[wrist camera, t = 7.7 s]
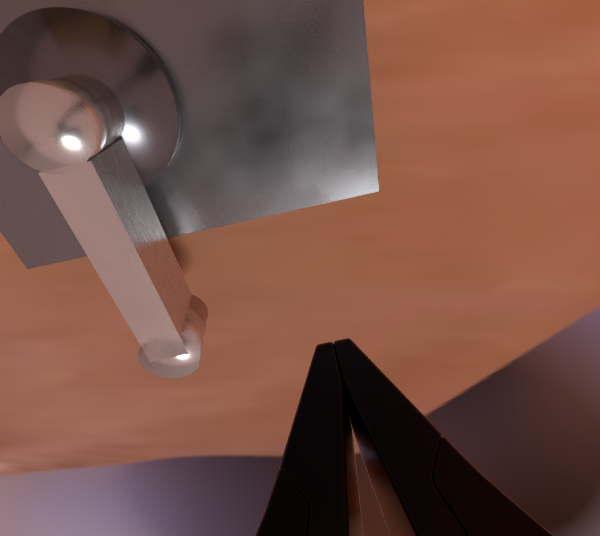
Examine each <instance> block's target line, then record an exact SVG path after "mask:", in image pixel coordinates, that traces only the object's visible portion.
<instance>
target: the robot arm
mask: <svg viewBox="0 0 600 536" xmlns="http://www.w3.org/2000/svg"><path fill="white" fill-rule="evenodd" d="M350 421H351V422H350ZM351 425H352V427H351ZM352 429H353V432H354V435H355V438H356V441H357V444H358V447H359V449H360V452H361V455H362V458H363V460H364V463H365V466H366V469H367V472H368V475H369V477H370V480H371V483H372V486H373V489H374V491H375V494H376V497H377V500H378V503H379V505H380V508H381V511H382V514H383V517H384V519H385V522H386V525H387V528H388V531H389V533H390V536H553V535H552V534H551V533H549V532H548V531H547V530H546V529H545V528H544V527H542V526H541V525H540V524H539V523H538V522H537V521H535V520H534V519H533V518H532V517H531V516H529V515H528V514H527V513H526V512H525V511H524V510H522V509H521V508H520V507H519V506H518V505H516V504H515V503H514V502H513V501H512V500H510V499H509V498H508V497H507V496H506V495H505V494H503V493H502V492H501V491H500V490H499V489H498V488H497V487H496V486H494V485H493V484H492V483H491V482H490V481H489V480H488V479H487V478H485V477H484V476H483V475H482V474H481V473H480V472H479V471H478V470H477V469H476V468H474V466H473V465H472V464H471V463H470V462H469V461H468V460H467V459H466V458H465V457H463V455H461V453H459V452H458V451H457V449H456V448H455V447H454V446H452V444H451V443H450V442H449V441H448V440H447V439H446V438H445V437H442V434H441V433H440V432H439V431H438V430H437V429H436V428H435V427H434V426H433V425H432V424H431V423H430V422H429V421H428V420H427V419H426V417H425V416H424V415H423V414H422V413H421V412H420V411H419V410H418V409H417V408H416V407H415V406H414V405H413V404H412V403H411V402H410V401H409V400H408V399H407V398H406V397H405V395H404V394H403V393H402V392H401V391H400V390H399V389H398V388H397V387H396V386H395V385H394V384H393V383H392V382H391V381H390V380H389V379H388V378H387V377H386V376H385V375H384V374H383V373H382V372H381V370H380V369H379V368H378V367H377V366H376V365H375V364H374V363H373V362H372V361H371V360H370V359H369V358H368V357H367V356H366V355H365V354H364V353H363V352H362V351H361V350H360V349H359V348H358V346H357V345H356V344H355V343H354V342H353V341H352V340H351V339H348V338H347V339H342V340H337V341H335V342H334V344H333V343H332V342H328V343H323V344H319V345H317V346H316V349H315V352H314V355H313V359H312V362H311V365H310V368H309V372H308V375H307V378H306V382H305V385H304V388H303V391H302V395H301V398H300V401H299V405H298V408H297V411H296V414H295V418H294V421H293V424H292V428H291V431H290V434H289V437H288V441H287V444H286V447H285V451H284V454H283V457H282V460H281V464H280V470H279V471H278V473H277V477H276V480H275V483H274V486H273V489H272V492H271V495H270V498H269V501H268V504H267V507H266V510H265V513H264V516H263V518H262V521H261V523H260V526H259V528H258V531H257V533H256V536H363V528H362V519H361V509H360V500H359V490H358V480H357V471H356V461H355V451H354V442H353V434H352Z"/></svg>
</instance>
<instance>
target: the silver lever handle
mask: <svg viewBox="0 0 600 536" xmlns="http://www.w3.org/2000/svg"><path fill="white" fill-rule="evenodd" d="M181 127H182V122H181V110H180V103H179V100H178V96H177V93H176V90H175V87H174V85H173V82H172V80H171V78H170V76H169V74H168V73H167V71H166V69H165V67H164V66H163V64H162V63H161V61H160V60H159V59H158V57H157V56H156V55H155V53H154V52H153V51H152V50H151V49H150V48H149V47H148V45H146V44H145V43H144V42H143V41H142V40H141V39H140V38H139V37H138V36H137V35H135V34H134V33H133V32H131V31H130V30H129V29H127V28H126V27H124V26H123V25H121V24H119V23H117V22H116V21H114V20H112V19H110V18H107V17H105V16H103V15H100V14H97V13H94V12H90V11H86V10H80V9H74V8H67V7H48V8H41V9H37V10H34V11H31V12H28V13H25V14H24V15H22V16H20V17H18V18H16V19H15V20H14V21H13V22H11V23H10V24H9V25H8V26H7V27H6V28H5V29H4V30H3V32H2V33H1V34H0V136H1V138H2V140H3V142H4V143H5V144H6V146H7V147H8V148H9V150H10V151H11V152H12V153H13V154H14V155H15V156H16V157H17V158H18V159H20V160H21V161H22V162H24V163H25V164H27V165H28V166H30V167H32V168H34V169H36V170H39V171H40V172H39V173H38V174H39V176H40V177H41V179H42V181H43V182H44V184H45V186H46V187H47V189H48V191H49V192H50V194H51V196H52V197H53V199H54V201H55V202H56V204H57V206H58V208H59V209H60V211H61V213H62V214H63V216H64V218H65V219H66V221H67V223H68V224H69V226H70V228H71V229H72V231H73V233H74V234H75V236H76V238H77V239H78V241H79V243H80V244H81V246H82V248H83V250H84V251H85V253H86V255H87V256H88V258H89V260H90V261H91V263H92V265H93V266H94V268H95V270H96V271H97V273H98V275H99V276H100V278H101V280H102V281H103V283H104V285H105V286H106V288H107V290H108V291H109V293H110V295H111V297H112V298H113V300H114V302H115V303H116V305H117V307H118V308H119V310H120V312H121V313H122V315H123V317H124V318H125V320H126V322H127V323H128V325H129V327H130V328H131V330H132V332H133V333H134V335H135V337H136V339H137V340H138V342H139V344H140V345H141V347H140V349H139V353H138V357H139V361H140V363H141V365H142V366H143V367H144V368H145V369H146V370H147V371H148V372H150V373H152V374H154V375H156V376H159V377H162V378H172V379H173V378H181V377H185V376H187V375H189V374H191V373H192V372H194V371H195V370H196V368H197V367H198V365H199V362H200V357H201V352H202V346H203V341H204V336H205V330H206V325H207V320H208V309H207V307H206V305H205V304H204V302H203V301H202V300H200V299H199V298H198V297H196V296H194V295H192V293H191V291H190V289H189V287H188V284H187V282H186V280H185V278H184V275H183V273H182V271H181V269H180V266H179V264H178V262H177V260H176V257H175V255H174V253H173V251H172V248H171V246H170V244H169V242H168V239H167V237H166V235H165V233H164V230H163V228H162V226H161V224H160V221H159V219H158V217H157V215H156V212H155V210H154V208H153V206H152V203H151V201H150V199H149V197H148V194H147V192H146V190H145V187H146V186H148V185H149V184H151V183H152V182H154V181H155V180H156V179H157V178H158V177H159V176H160V175H161V174H162V173H163V171H164V170H165V169H166V168H167V166H168V165H169V164H170V162H171V160H172V159H173V157H174V155H175V153H176V150H177V148H178V145H179V141H180V137H181Z"/></svg>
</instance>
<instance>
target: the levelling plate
mask: <svg viewBox="0 0 600 536" xmlns="http://www.w3.org/2000/svg"><path fill="white" fill-rule="evenodd" d="M48 7H67V8H74V9H80V10H86V11H90V12H94V13H97V14H100V15H103V16H105V17H107V18H110V19H112V20H114V21H116V22H117V23H119V24H121V25H123V26H124V27H126V28H127V29H129V30H130V31H131V32H133V33H134V34H135V35H137V36H138V37H139V38H140V39H141V40H142V41H143V42H144V43H145V44H146V45H148V47H149V48H150V49H151V50H152V51H153V52H154V53H155V55H156V56H157V57H158V59H159V60H160V61H161V63H162V64H163V66H164V67H165V69H166V71H167V73H168V74H169V76H170V78H171V80H172V82H173V85H174V87H175V90H176V93H177V96H178V100H179V103H180V110H181V122H182V127H181V137H180V141H179V145H178V148H177V150H176V153H175V155H174V157H173V159H172V160H171V162H170V164H169V165H168V166H167V168H166V169H165V170H164V171H163V173H162V174H161V175H160V176H159V177H158V178H157V179H156V180H155V181H154V182H152V183H151V184H149V185H148V186H146V187H145V190H146V192H147V194H148V197H149V199H150V201H151V203H152V206H153V208H154V210H155V212H156V215H157V217H158V219H159V221H160V224H161V226H162V228H163V230H164V233H165V235H166V237H167V238H170V237H175V236H179V235H184V234H188V233H193V232H197V231H202V230H206V229H211V228H215V227H220V226H224V225H229V224H233V223H238V222H242V221H247V220H251V219H256V218H260V217H265V216H269V215H274V214H278V213H283V212H288V211H292V210H297V209H301V208H306V207H310V206H315V205H319V204H324V203H328V202H333V201H337V200H342V199H346V198H351V197H355V196H360V195H364V194H369V193H373V192H378V191H379V184H378V172H377V160H376V148H375V136H374V125H373V113H372V101H371V89H370V77H369V65H368V54H367V42H366V30H365V18H364V6H363V0H0V34H1V33H2V32H3V30H4V29H5V28H6V27H7V26H8V25H9V24H10V23H11V22H13V21H14V20H15V19H16V18H18V17H20V16H22V15H24V14H25V13H28V12H31V11H34V10H37V9H41V8H48ZM39 172H40V171H39V170H36V169H34V168H32V167H30V166H28V165H27V164H25V163H24V162H22V161H21V160H20V159H18V158H17V157H16V156H15V155H14V154H13V153H12V152H11V151H10V150H9V148H8V147H7V146H6V144H5V143H4V142H3V140H2V138H1V136H0V231H1V233H2V234H3V235H4V237H5V238H6V240H7V241H8V242H9V244H10V245H11V247H12V248H13V249H14V251H15V252H16V254H17V255H18V256H19V258H20V259H21V261H22V262H23V263H24V265H25V266H26V268H27V269H30V268H35V267H39V266H44V265H48V264H53V263H57V262H62V261H66V260H71V259H75V258H80V257H84V256H87V255H86V253H85V251H84V250H83V248H82V246H81V244H80V243H79V241H78V239H77V238H76V236H75V234H74V233H73V231H72V229H71V228H70V226H69V224H68V223H67V221H66V219H65V218H64V216H63V214H62V213H61V211H60V209H59V208H58V206H57V204H56V202H55V201H54V199H53V197H52V196H51V194H50V192H49V191H48V189H47V187H46V186H45V184H44V182H43V181H42V179H41V177H40V176H39V174H38V173H39Z"/></svg>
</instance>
